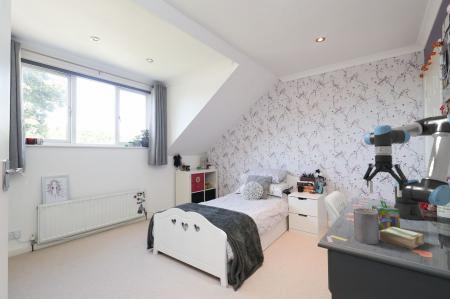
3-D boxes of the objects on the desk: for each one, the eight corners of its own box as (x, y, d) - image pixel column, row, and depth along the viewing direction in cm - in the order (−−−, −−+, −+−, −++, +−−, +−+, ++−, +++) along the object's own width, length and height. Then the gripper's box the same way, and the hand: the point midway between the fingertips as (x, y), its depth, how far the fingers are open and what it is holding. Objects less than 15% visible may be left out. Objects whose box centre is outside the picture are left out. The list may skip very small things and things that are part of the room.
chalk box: (400, 232, 110) (399, 203, 111) (380, 231, 112) (379, 202, 112) (390, 226, 119) (389, 199, 120) (372, 225, 121) (371, 199, 121)
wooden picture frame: (393, 234, 108) (392, 226, 108) (424, 243, 97) (423, 233, 97) (379, 239, 102) (379, 230, 102) (411, 249, 91) (410, 239, 91)
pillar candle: (358, 235, 108) (357, 204, 108) (382, 240, 101) (380, 207, 101) (351, 240, 102) (349, 208, 102) (376, 247, 94) (374, 212, 94)
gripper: (355, 154, 126) (356, 191, 125) (408, 154, 104) (409, 199, 103) (363, 154, 129) (364, 190, 129) (415, 154, 107) (417, 197, 107)
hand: (384, 194), depth 116 cm, fingers open, 13 cm apart
